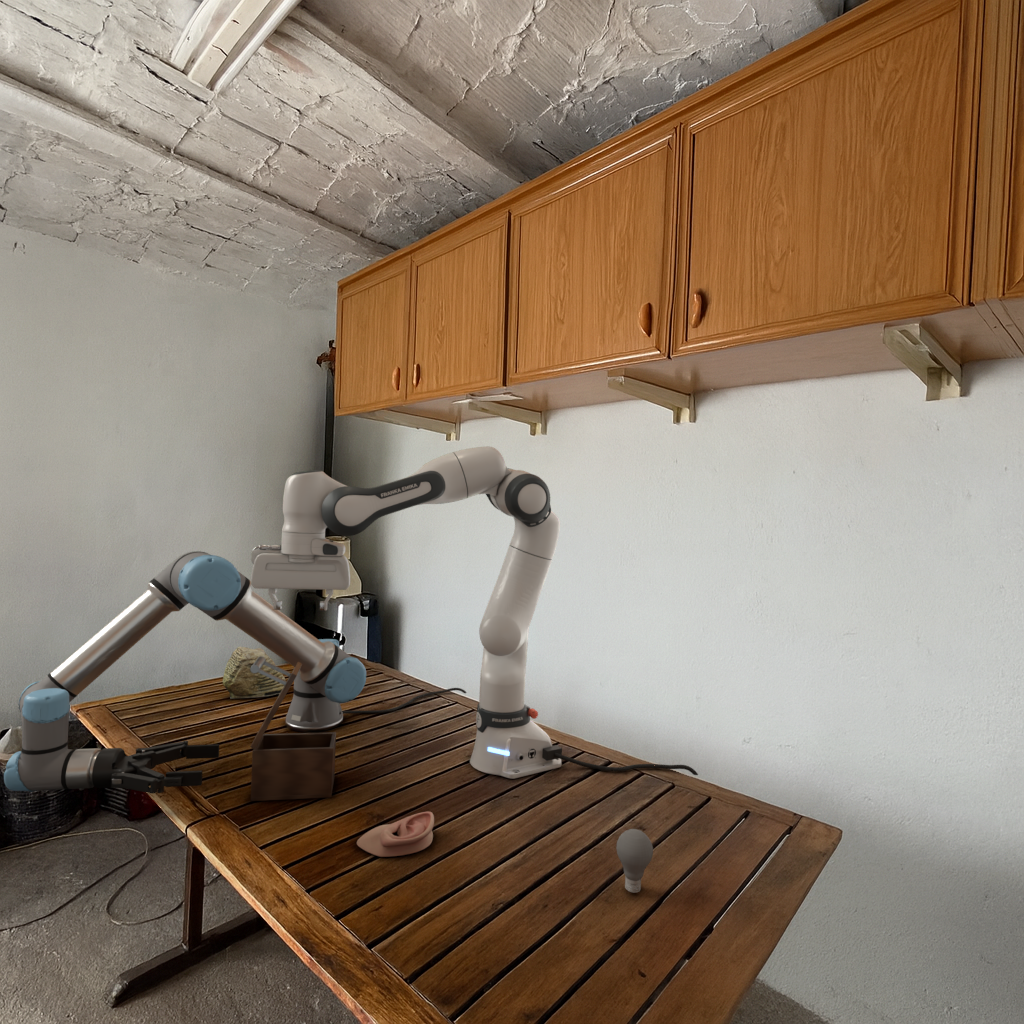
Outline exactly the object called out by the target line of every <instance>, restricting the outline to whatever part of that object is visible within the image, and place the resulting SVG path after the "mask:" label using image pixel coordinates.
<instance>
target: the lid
mask: <svg viewBox="0 0 1024 1024" xmlns="http://www.w3.org/2000/svg"><path fill="white" fill-rule="evenodd" d="M263 665H266V666H268V667H270V668H272V669H274V670H276V671H278V672H280V673H282V675H284V676H287V677H288V678H287V680H286V679H285V680H286V681H285V680H283V679H281V678H279V677H277V676H275V675H272V674H270V673H268V672H266V671H264V670H262V669H261V668H262V666H263ZM275 665H276V664H275ZM275 665H273V664H271V663H269V662H267V661H266V659H265V658H264V657H262V656H260V657H258V659H257V660H256V661H255V662H254V664H253V665H252V666H251V668H250V671H251V672H252V673H254V674H256V673H260V674H262V675H264V676H266V677H269V678H271V679H273V680H275V681H277V682H279V683H281V684H283V685H284V687H283V689H282V691H281V692H280V694H278V695H277V697H276V699H275V701H274V703H273V704H272V707H271V708H270V710H269V711H268V713H267V715H266V717H265V718H264V720H263V722H262V724H261V726H260V727H259V729H258V731H257V733H256V735H255V737H254V739H253V741H252V743H251V745H250V748H252V749H255V748H256V747H257V745H258V743H259V741H260V739H261V738H262V736H263V734H265V732H266V731H267V729H268V727H269V726H270V724H271V722H272V720H273V719H274V717H275V715H276V713H277V712H278V710H279V708H280V706H281V705H282V703H283V701H284V699H285V697H286V695H287V694H288V692H289V690H290V688H291V687H292V685H293V684H294V680H295V678H296V676H297V674H298V672H299V670H300V668H301V666H302V664H301V663H299V662H297V664H296V666H295V668H293V669H292V671H291V672H290V671H288V670H286V669H283V668H282V667H279V666H277V665H276V666H275Z"/></svg>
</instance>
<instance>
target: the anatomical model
mask: <svg viewBox="0 0 1024 1024" xmlns="http://www.w3.org/2000/svg"><path fill="white" fill-rule="evenodd" d="M434 826H435V815H434V814H433V812H431V811H422V812H418V813H415V814H411V815H409V816H406V817H404V818H402V819H399V820H397V821H395V822H392V823H389V824H388V823H387V824H382V825H378V826H376V827H374V828H372V829H370V830H368V831H367V832H365V833H364V834H363V835H361V836H360V837H359V838H358V839H357V841H356V845H357V847H359V848H360V849H362V850H363V851H365V852H366V853H369V854H371V855H373V856H375V857H376V856H377V857H380V858H385V857H386V858H387V857H397V856H405V855H410V854H414V853H418V852H420V851H423V850H425V849H427V848H428V847H430V845H431V844H432V842H433V838H434V834H433V829H434Z"/></svg>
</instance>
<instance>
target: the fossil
mask: <svg viewBox="0 0 1024 1024" xmlns="http://www.w3.org/2000/svg"><path fill="white" fill-rule="evenodd" d="M260 656H262V657H264V658H265V659H266V661H267V662H269V663H271V664H273V665H275V666H277V665H276V663H275V662H274V660H273V659H272V658H271V657H270V656H269V655H268V654H267V653H266V652H265V650H264V649H263V648H260V647H258V648H251V647H247V646H246V647H245V646H238V647H237V648H236V649H235V650H233V651H232V653H231V656H230V657H229V659H228V660H227V663H226V666H225V668H224V671H223V675H222V676H223V677H222V685H223V687H224V688H225V690H226V691H228V693H229V698H230V699H250V698H264V697H271V696H275V695H279V694H280V692H281V691H282V689H283V687H284V685H283V684H281V683H279V682H277V681H275V680H273V679H271V678H269V677H266V676H264V675H262V674H260V673H256V674H254V673H252V672H251V671H250V668H251V666H252V665H253V664H254V662H255V661H256V660H257V659H258V657H260ZM261 669H262V670H264V671H266V672H268V673H270V674H272V675H275V676H277V677H279V678H281V679H283V680H285V681H287V680H286V678H285V675H284V674H282V673H280V672H278V671H276V670H274V669H272V668H270V667H268V666H266V665H263V666H262V668H261Z"/></svg>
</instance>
